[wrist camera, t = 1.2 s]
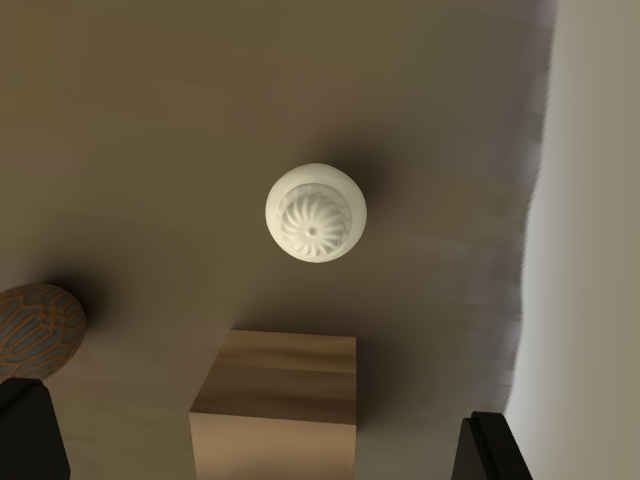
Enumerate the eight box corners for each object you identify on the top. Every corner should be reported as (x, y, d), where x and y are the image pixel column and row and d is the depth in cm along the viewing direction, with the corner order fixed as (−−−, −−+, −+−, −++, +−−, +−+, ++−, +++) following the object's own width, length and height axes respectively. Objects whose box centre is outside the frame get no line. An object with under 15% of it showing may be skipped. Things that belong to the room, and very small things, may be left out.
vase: (109, 291, 32) (25, 363, 24) (92, 356, 34) (10, 441, 26) (24, 256, 31) (-92, 317, 23) (12, 325, 34) (-96, 402, 26)
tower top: (213, 363, 28) (188, 412, 24) (356, 373, 28) (356, 425, 24) (222, 467, 32) (202, 525, 28) (349, 478, 31) (348, 539, 27)
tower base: (231, 327, 33) (213, 363, 28) (356, 335, 32) (356, 373, 28) (238, 422, 36) (222, 467, 32) (350, 431, 36) (349, 478, 31)
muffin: (276, 151, 27) (251, 173, 20) (368, 156, 27) (373, 180, 20) (276, 238, 29) (253, 282, 23) (361, 244, 29) (363, 290, 22)
